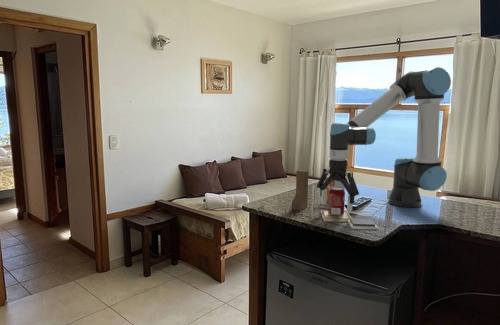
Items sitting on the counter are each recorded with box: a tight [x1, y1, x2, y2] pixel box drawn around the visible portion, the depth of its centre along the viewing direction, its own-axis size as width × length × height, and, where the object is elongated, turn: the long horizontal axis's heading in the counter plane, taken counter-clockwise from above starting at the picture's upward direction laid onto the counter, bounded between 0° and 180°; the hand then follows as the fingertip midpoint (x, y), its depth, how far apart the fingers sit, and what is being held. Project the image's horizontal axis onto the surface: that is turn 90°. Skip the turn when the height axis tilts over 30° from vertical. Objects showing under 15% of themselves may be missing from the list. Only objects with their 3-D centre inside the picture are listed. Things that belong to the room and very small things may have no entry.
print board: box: [320, 209, 353, 223], centre depth 156 cm, size 12×12×1 cm
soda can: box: [327, 187, 346, 216], centre depth 155 cm, size 7×7×12 cm
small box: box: [324, 175, 346, 203], centre depth 179 cm, size 8×6×13 cm
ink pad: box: [347, 218, 379, 231], centre depth 145 cm, size 10×8×2 cm
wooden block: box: [291, 169, 309, 212], centre depth 168 cm, size 9×4×18 cm, turn 149°
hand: (336, 207), depth 155 cm, fingers open, 13 cm apart
